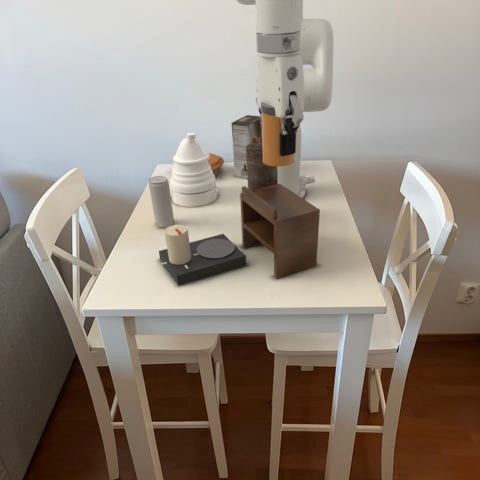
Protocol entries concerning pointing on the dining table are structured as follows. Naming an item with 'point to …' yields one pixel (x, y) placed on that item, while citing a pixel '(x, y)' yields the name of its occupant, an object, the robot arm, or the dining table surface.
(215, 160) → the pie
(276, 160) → the jar
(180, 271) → the hot plate
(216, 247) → the pale grey disc
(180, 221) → the dining table surface
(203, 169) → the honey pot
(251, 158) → the candle
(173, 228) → the knob
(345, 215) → the dining table surface
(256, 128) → the coffee box
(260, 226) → the shelf
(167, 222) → the beverage can
